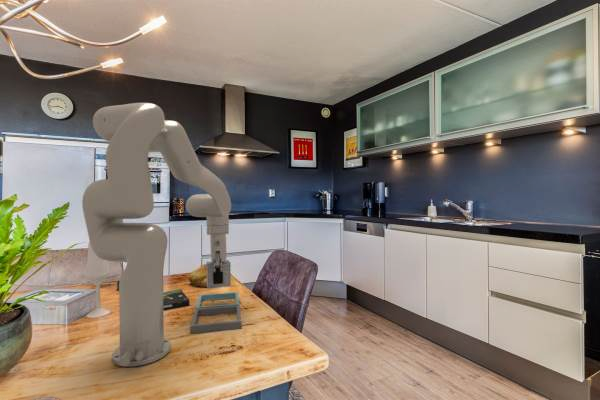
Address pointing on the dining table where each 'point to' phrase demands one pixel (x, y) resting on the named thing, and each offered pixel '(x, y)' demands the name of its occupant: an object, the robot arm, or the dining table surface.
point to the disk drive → (175, 300)
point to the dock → (216, 310)
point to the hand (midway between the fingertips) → (218, 280)
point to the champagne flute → (96, 279)
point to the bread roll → (199, 276)
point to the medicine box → (226, 274)
